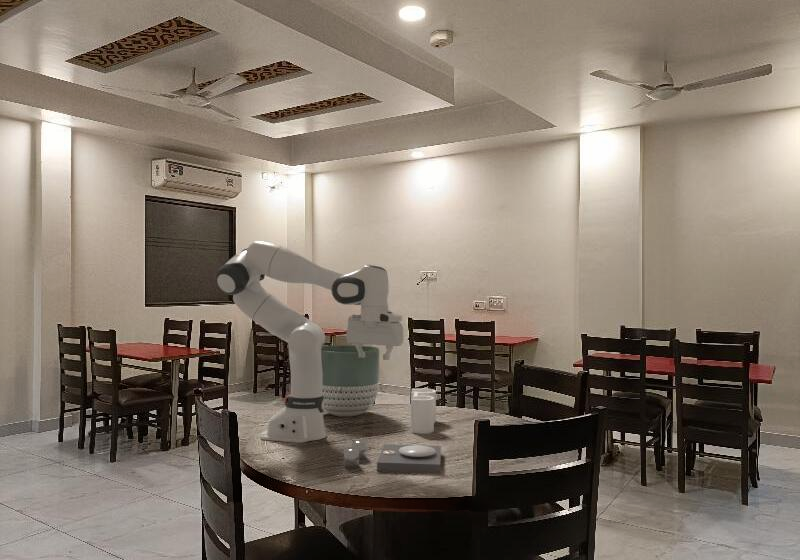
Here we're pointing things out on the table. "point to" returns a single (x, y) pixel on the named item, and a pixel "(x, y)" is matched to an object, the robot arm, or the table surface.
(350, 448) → the spacer
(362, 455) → the cylinder
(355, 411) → the planter
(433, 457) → the scale
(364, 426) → the table surface
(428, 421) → the c-shaped pipe clip
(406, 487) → the table surface
